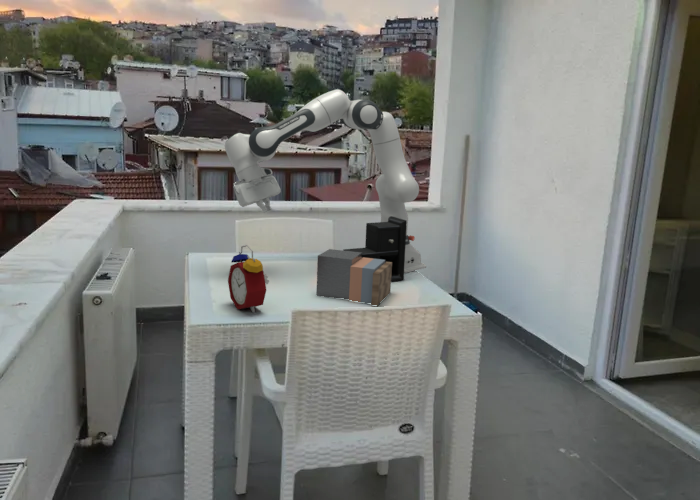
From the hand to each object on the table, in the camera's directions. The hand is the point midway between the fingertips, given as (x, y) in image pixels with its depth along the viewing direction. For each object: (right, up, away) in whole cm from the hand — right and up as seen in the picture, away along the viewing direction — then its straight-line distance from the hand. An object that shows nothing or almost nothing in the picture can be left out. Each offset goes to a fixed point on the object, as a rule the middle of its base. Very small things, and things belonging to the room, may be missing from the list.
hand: (267, 211), depth 208 cm
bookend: (+38, -26, +7) cm, 47 cm away
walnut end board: (+41, -31, -16) cm, 54 cm away
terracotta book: (+34, -30, -14) cm, 48 cm away
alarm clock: (-1, -32, -32) cm, 45 cm away
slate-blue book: (+38, -30, -15) cm, 51 cm away
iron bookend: (+26, -29, -12) cm, 41 cm away
